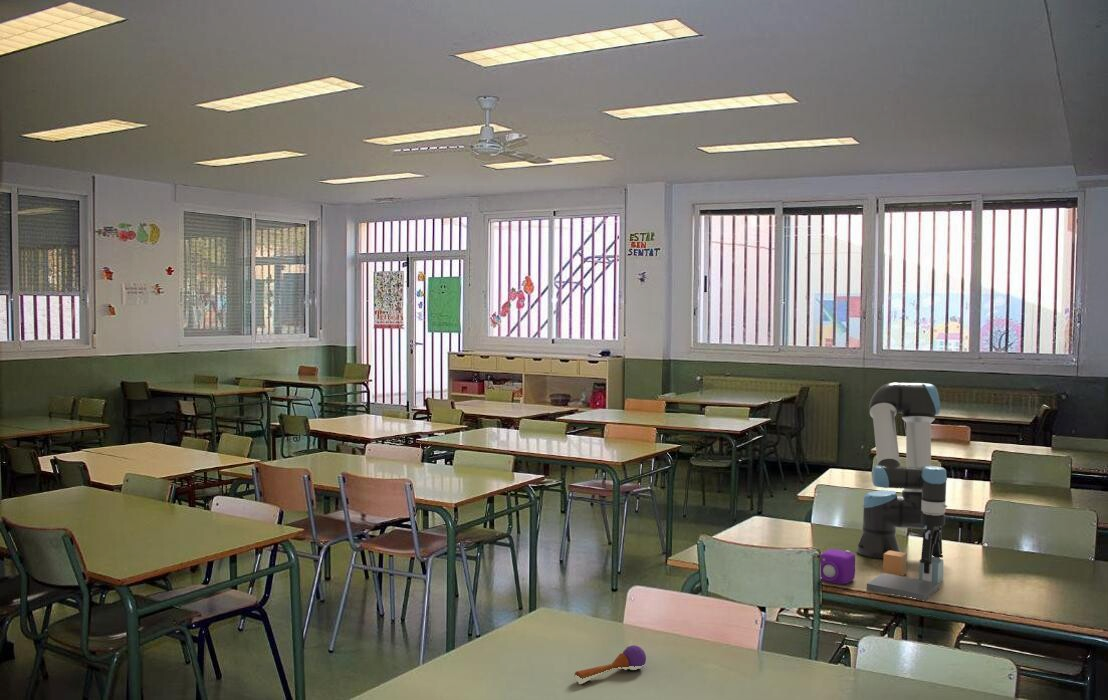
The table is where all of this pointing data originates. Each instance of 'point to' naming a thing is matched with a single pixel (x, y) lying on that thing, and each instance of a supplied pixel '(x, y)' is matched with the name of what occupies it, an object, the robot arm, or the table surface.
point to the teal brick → (934, 570)
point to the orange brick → (895, 563)
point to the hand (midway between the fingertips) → (931, 579)
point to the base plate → (903, 586)
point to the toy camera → (838, 566)
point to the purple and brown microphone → (618, 662)
